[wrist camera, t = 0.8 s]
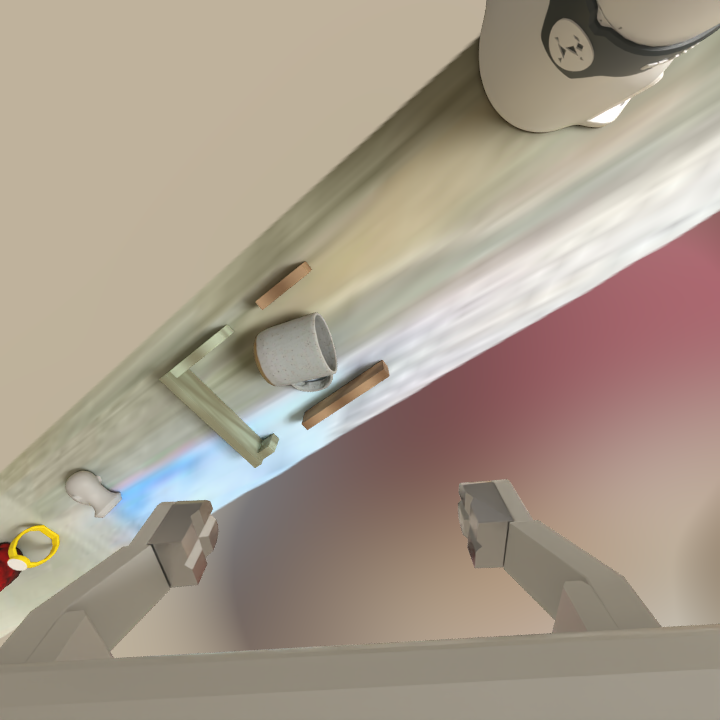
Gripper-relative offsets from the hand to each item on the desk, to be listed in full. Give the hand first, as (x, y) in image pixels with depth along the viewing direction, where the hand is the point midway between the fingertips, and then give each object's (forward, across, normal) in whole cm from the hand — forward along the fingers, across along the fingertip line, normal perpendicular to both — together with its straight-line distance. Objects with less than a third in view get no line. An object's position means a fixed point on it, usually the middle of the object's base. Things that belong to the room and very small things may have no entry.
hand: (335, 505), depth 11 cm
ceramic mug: (+33, +6, +6) cm, 34 cm away
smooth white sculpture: (+34, +42, +27) cm, 60 cm away
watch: (+33, +54, +36) cm, 73 cm away
